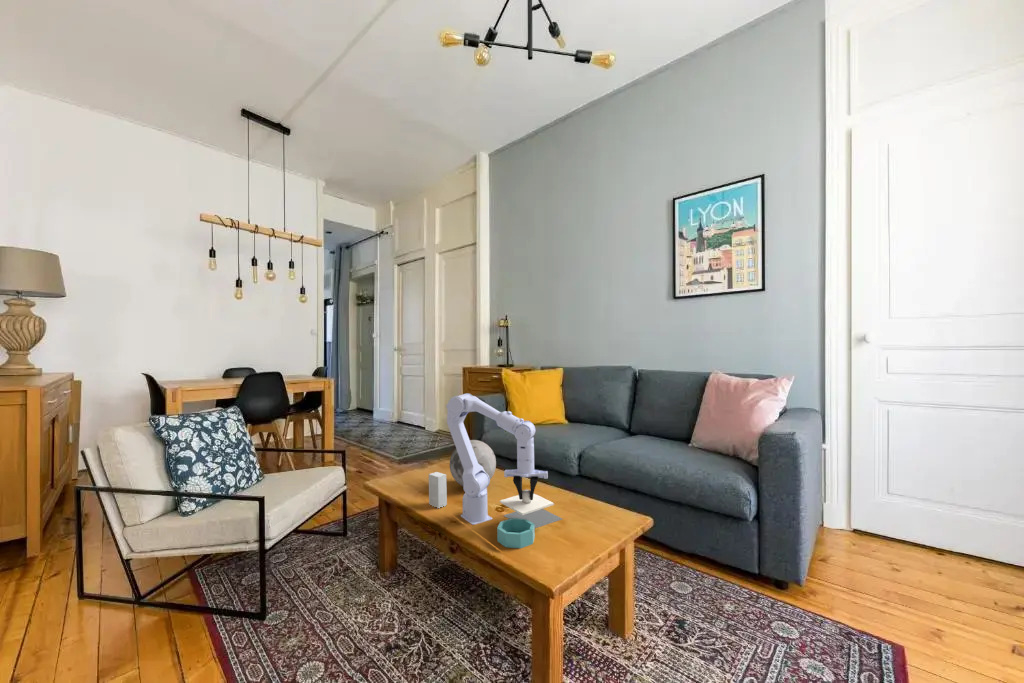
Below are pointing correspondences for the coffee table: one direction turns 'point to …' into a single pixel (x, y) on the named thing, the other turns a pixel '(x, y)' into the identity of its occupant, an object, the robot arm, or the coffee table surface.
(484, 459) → the moon model
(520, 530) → the bowl
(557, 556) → the coffee table surface
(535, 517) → the mat
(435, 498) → the skincare box
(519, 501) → the lid
